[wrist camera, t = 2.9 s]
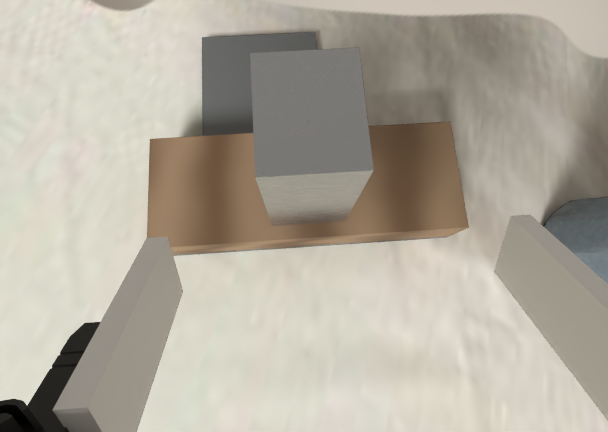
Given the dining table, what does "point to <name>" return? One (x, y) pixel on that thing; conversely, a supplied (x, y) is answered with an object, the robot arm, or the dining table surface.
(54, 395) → the robot arm
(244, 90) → the rubber pad
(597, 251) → the moka pot
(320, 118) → the grey rectangular block
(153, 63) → the dining table surface
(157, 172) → the body
